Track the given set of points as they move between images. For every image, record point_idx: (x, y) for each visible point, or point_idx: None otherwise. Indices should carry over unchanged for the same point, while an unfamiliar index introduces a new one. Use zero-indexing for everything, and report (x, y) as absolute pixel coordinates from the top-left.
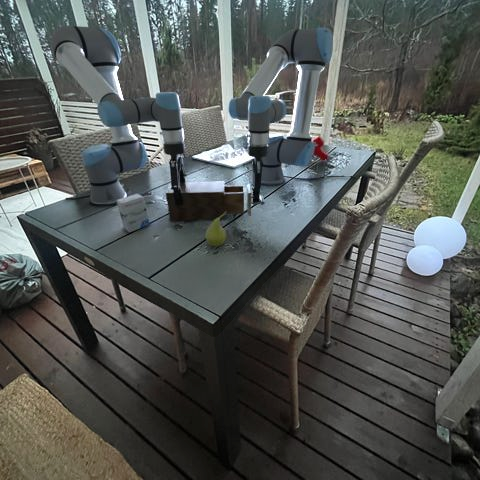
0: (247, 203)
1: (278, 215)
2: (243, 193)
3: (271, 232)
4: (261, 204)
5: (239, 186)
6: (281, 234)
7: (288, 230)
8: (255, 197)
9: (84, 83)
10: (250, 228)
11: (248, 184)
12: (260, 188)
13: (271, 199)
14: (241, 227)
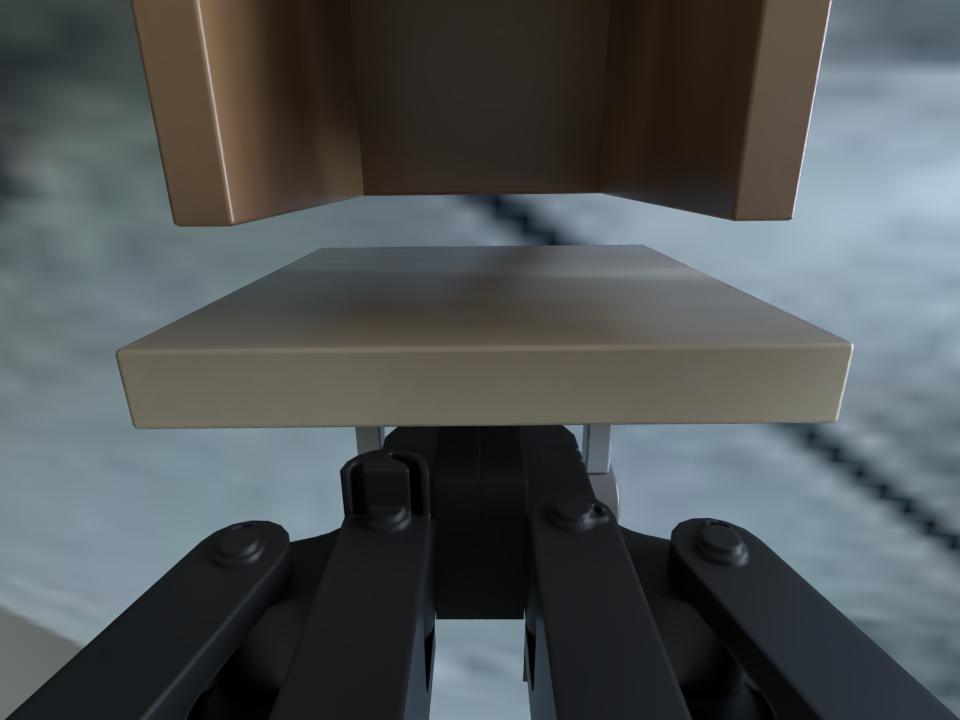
0: (461, 265)
1: None
2: (172, 207)
3: (54, 460)
4: None
5: (741, 92)
6: (38, 536)
7: (124, 597)
8: (396, 439)
9: None
10: (91, 257)
11: (772, 389)
12: (212, 700)
13: (811, 542)
14: (93, 147)
